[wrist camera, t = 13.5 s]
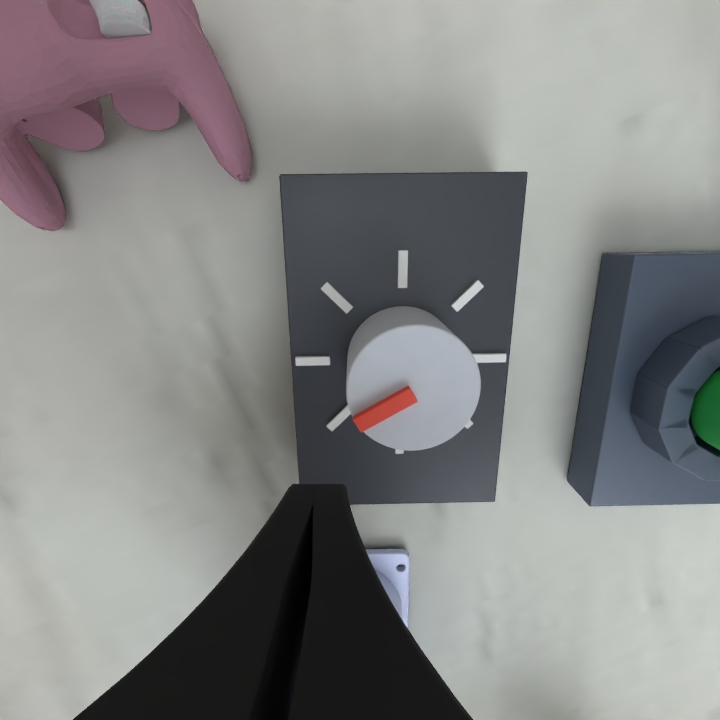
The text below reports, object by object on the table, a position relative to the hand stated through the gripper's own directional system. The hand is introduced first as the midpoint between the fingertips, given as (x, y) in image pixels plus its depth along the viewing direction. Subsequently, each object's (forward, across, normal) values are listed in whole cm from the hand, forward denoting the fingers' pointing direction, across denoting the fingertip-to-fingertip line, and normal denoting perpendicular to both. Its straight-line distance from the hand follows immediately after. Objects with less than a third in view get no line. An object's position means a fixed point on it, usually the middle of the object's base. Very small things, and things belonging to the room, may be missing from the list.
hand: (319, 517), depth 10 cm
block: (+10, -17, 0) cm, 20 cm away
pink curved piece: (+11, +8, -10) cm, 17 cm away
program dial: (+7, -3, -2) cm, 8 cm away
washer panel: (+10, -3, -1) cm, 11 cm away
